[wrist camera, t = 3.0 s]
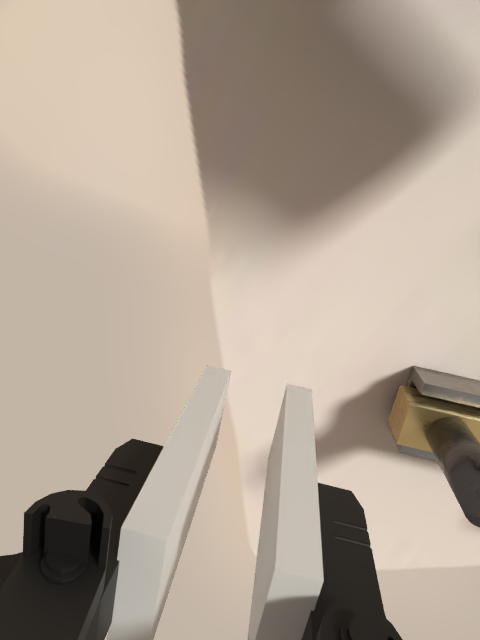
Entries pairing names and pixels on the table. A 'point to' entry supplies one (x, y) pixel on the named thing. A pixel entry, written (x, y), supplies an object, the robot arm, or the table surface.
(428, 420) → the brass block with handle
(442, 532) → the table surface
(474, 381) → the channel
